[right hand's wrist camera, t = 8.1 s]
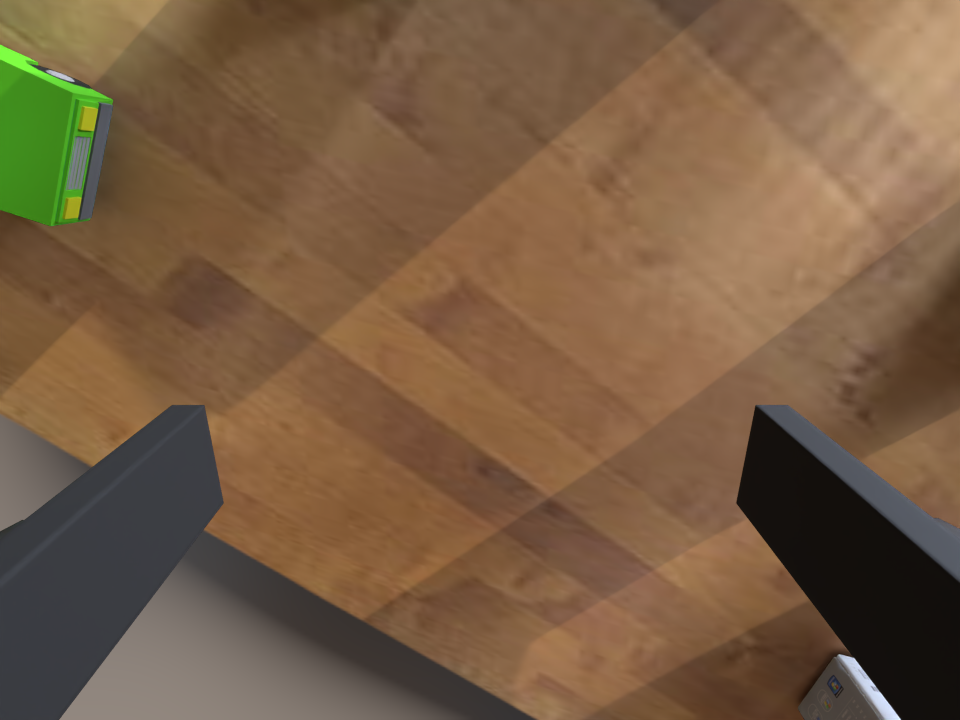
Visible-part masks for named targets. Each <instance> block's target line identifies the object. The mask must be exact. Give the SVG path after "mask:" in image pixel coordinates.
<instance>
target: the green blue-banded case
mask: <svg viewBox="0 0 960 720" xmlns="http://www.w3.org/2000/svg"><path fill="white" fill-rule="evenodd" d="M112 103H113V100H112V99H110V98H108V97H106V96H104V95H102V94H100V93H98V92H96V91H94V90H92V88H91V87H90V86H89V85H87V84H85V83H83V82H81V81H79V80H77V79H74V78H72V77H69V76H67V75H65V74H62V73H59V72H56V71H53V70H51V69H48V68H44V67H41V66H38V62H36V61H34V60H32V59H30V58H28V57H26V56H24V55H21V54H19V53H17V52H15V51H13V50H10V49H8V48H6V47H4V46H2V45H0V210H2V211H5V212H8V213H12V214H15V215H18V216H21V217H24V218H27V219H30V220H33V221H36V222H39V223H42V224H45V225H48V226H55V225H62V224H68V223H75V222H82V221H88V220H90V218H92V213H93V207H94V202H95V197H96V192H97V187H98V182H99V176H100V171H101V166H102V161H103V156H104V151H105V145H106V140H107V135H108V130H109V125H110V120H111V115H112V109H113V105H112Z"/></svg>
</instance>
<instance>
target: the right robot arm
mask: <svg viewBox="0 0 960 720" xmlns="http://www.w3.org/2000/svg"><path fill="white" fill-rule="evenodd" d="M223 503H224V502H223V497H222V492H221V487H220V482H219V477H218V472H217V467H216V462H215V457H214V452H213V446H212V441H211V436H210V431H209V426H208V421H207V416H206V411H205V406H204V405H172V406H170V407H169V408H168V409H167V410H165V411H164V412H163V413H161V414H160V415H159V416H158V417H156V418H155V419H154V420H152V421H151V422H150V423H149V424H147V425H146V426H145V427H143V428H142V429H141V430H140V431H138V432H137V433H136V434H134V435H133V436H132V437H131V438H129V439H128V440H127V441H125V442H124V443H123V444H122V445H120V446H119V447H118V448H116V449H115V450H114V451H113V452H111V453H110V454H109V455H107V456H106V457H105V458H104V459H102V460H101V461H100V462H98V463H97V464H96V465H95V466H93V467H92V468H91V469H89V470H88V471H87V472H86V473H84V474H83V475H82V476H80V477H79V478H78V479H77V480H75V481H74V482H73V483H71V484H70V485H69V486H68V487H66V488H65V489H64V490H62V491H61V492H60V493H59V494H57V495H56V496H55V497H53V498H52V499H51V500H50V501H48V502H47V503H46V504H44V505H43V506H42V507H41V508H39V509H38V510H37V511H35V512H34V513H33V514H32V515H30V516H29V517H28V518H26V519H25V520H21V521H19V522H17V523H16V524H14V525H12V526H10V527H8V528H6V529H4V530H2V531H0V720H59V719H60V718H61V716H62V715H63V714H64V713H65V711H66V710H67V708H68V707H69V706H70V705H71V703H72V702H73V701H74V699H75V698H76V697H77V695H78V694H79V693H80V691H81V690H82V689H83V687H84V686H85V685H86V684H87V682H88V681H89V680H90V678H91V677H92V676H93V674H94V673H95V672H96V670H97V669H98V668H99V666H100V665H101V664H102V663H103V661H104V660H105V659H106V657H107V656H108V655H109V653H110V652H111V651H112V649H113V648H114V647H115V645H116V644H117V643H118V641H119V640H120V639H121V638H122V636H123V635H124V634H125V632H126V631H127V630H128V628H129V627H130V626H131V624H132V623H133V622H134V620H135V619H136V618H137V616H138V615H139V614H140V613H141V611H142V610H143V609H144V607H145V606H146V605H147V603H148V602H149V601H150V599H151V598H152V597H153V595H154V594H155V593H156V591H157V590H158V589H159V588H160V586H161V585H162V584H163V582H164V581H165V580H166V578H167V577H168V576H169V574H170V573H171V572H172V570H173V569H174V568H175V566H176V565H177V564H178V562H179V561H180V560H181V559H182V557H183V556H184V555H185V553H186V552H187V551H188V549H189V548H190V547H191V545H192V544H193V543H194V541H195V540H196V539H197V537H198V536H199V535H200V533H201V532H202V531H203V530H204V528H205V527H206V526H207V524H208V523H209V522H210V520H211V519H212V518H213V516H214V515H215V514H216V512H217V511H218V510H219V509H220V507H221V506H222V505H223ZM736 503H737V505H738V506H739V507H740V509H741V510H742V511H743V512H744V514H745V515H746V516H747V518H748V519H749V520H750V522H751V523H752V524H753V526H754V527H755V528H756V530H757V531H758V532H759V534H760V535H761V536H762V538H763V539H764V540H765V541H766V543H767V544H768V545H769V547H770V548H771V549H772V551H773V552H774V553H775V555H776V556H777V557H778V559H779V560H780V561H781V563H782V564H783V565H784V566H785V568H786V569H787V570H788V572H789V573H790V574H791V576H792V577H793V578H794V580H795V581H796V582H797V584H798V585H799V586H800V588H801V589H802V590H803V591H804V593H805V594H806V595H807V597H808V598H809V599H810V601H811V602H812V603H813V605H814V606H815V607H816V609H817V610H818V611H819V613H820V614H821V615H822V616H823V618H824V619H825V620H826V622H827V623H828V624H829V626H830V627H831V628H832V630H833V631H834V632H835V634H836V635H837V636H838V638H839V639H840V640H841V641H842V643H843V644H844V645H845V647H846V648H847V649H848V651H849V652H850V653H851V655H852V656H853V657H854V659H855V660H856V661H857V663H858V664H859V665H860V666H861V668H862V669H863V670H864V672H865V673H866V674H867V676H868V677H869V678H870V680H871V681H872V682H873V684H874V685H875V686H876V688H877V689H878V690H879V691H880V693H881V694H882V695H883V697H884V698H885V699H886V701H887V702H888V703H889V705H890V706H891V707H892V709H893V710H894V711H895V713H896V714H897V715H898V716H899V718H900V719H901V720H960V529H959V528H957V527H955V526H953V525H951V524H949V523H947V522H945V521H943V520H941V519H939V518H932V517H931V516H930V515H928V514H927V513H926V512H925V511H923V510H922V509H921V508H919V507H918V506H917V505H916V504H914V503H913V502H912V501H910V500H909V499H908V498H907V497H905V496H904V495H903V494H901V493H900V492H899V491H898V490H896V489H895V488H894V487H892V486H891V485H890V484H889V483H887V482H886V481H885V480H883V479H882V478H881V477H880V476H878V475H877V474H876V473H874V472H873V471H872V470H871V469H869V468H868V467H867V466H865V465H864V464H863V463H862V462H860V461H859V460H858V459H856V458H855V457H854V456H853V455H851V454H850V453H849V452H847V451H846V450H845V449H844V448H842V447H841V446H840V445H838V444H837V443H836V442H835V441H833V440H832V439H831V438H829V437H828V436H827V435H826V434H824V433H823V432H822V431H820V430H819V429H818V428H817V427H815V426H814V425H813V424H811V423H810V422H809V421H808V420H806V419H805V418H804V417H802V416H801V415H800V414H799V413H797V412H796V411H795V410H793V409H792V408H791V407H790V406H788V405H756V406H755V411H754V416H753V421H752V426H751V431H750V436H749V441H748V446H747V452H746V457H745V462H744V467H743V472H742V477H741V482H740V487H739V492H738V497H737V502H736Z"/></svg>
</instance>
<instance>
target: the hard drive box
mask: <svg viewBox="0 0 960 720" xmlns="http://www.w3.org/2000/svg"><path fill="white" fill-rule="evenodd" d="M798 710H799V711H800V713H801V715H802V716H803V718H804V720H901V719H900V718H899V716H898V715H897V714H896V713H895V711H894V710H893V709H892V707H891V706H890V705H889V703H888V702H887V701H886V699H885V698H884V697H883V695H882V694H881V693H880V691H879V690H878V689H877V688H876V686H875V685H874V684H873V682H872V681H871V680H870V678H869V677H868V676H867V674H866V673H865V672H864V670H863V669H862V668H861V666H860V665H859V664H858V663H857V661H856V660H855V659H854V658H852V657H848V656H844V655H840V654H839V655H837V657H833V659H832V661H831V662H830V663H829V664H828V666H827V667H826V669H825V670H824V672H823V673H822V675H821V676H820V677H819V678H818V680H817V681H816V683H815V684H814V686H813V687H812V688H811V690H810V691H809V692H808V694H807V695H806V697H805V698H804V699H803V701H802V702H801V703H800V705H799V706H798Z"/></svg>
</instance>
